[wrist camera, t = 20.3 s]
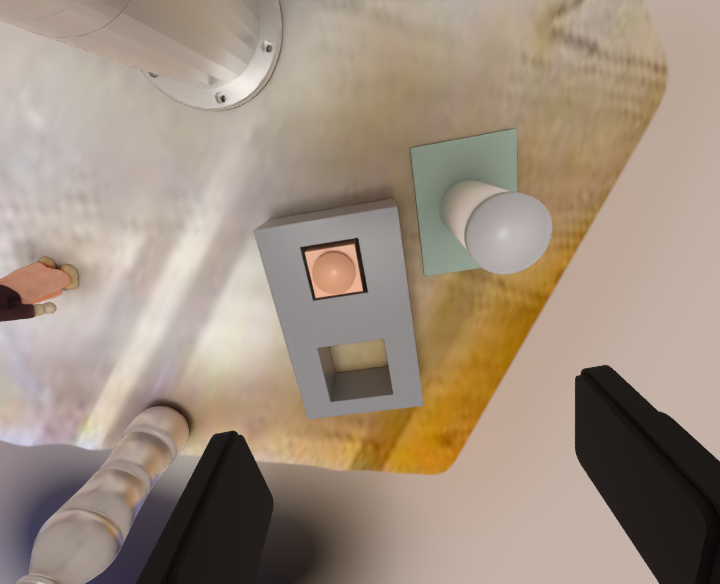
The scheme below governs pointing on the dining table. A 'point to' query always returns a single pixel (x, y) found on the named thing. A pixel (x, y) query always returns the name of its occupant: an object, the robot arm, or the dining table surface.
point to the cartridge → (497, 225)
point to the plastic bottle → (107, 502)
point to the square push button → (335, 267)
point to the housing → (344, 309)
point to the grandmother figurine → (34, 289)
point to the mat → (440, 172)
